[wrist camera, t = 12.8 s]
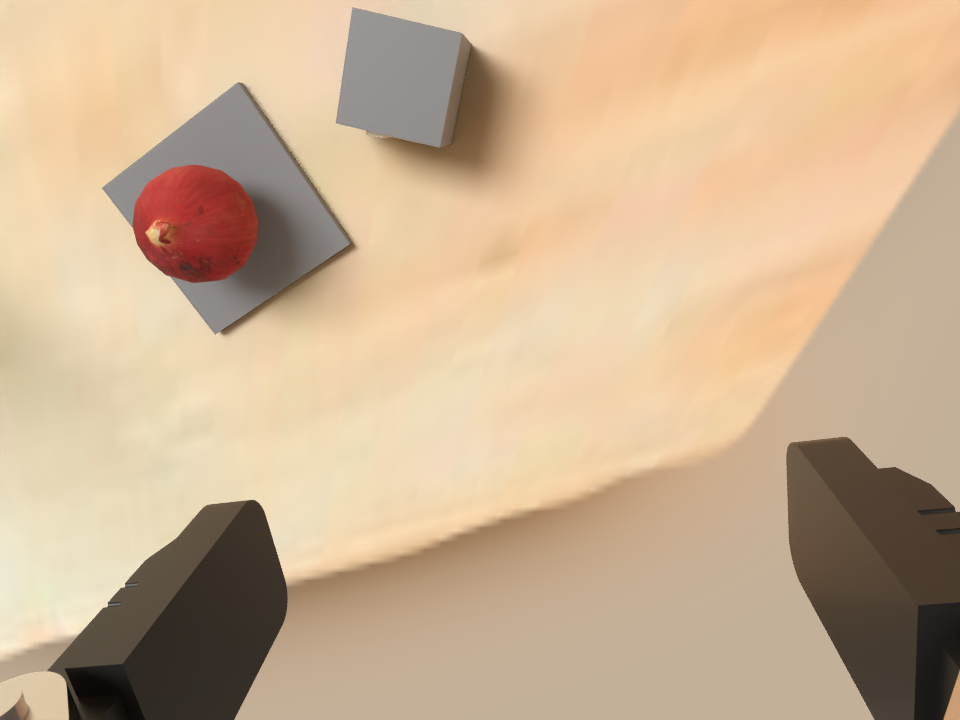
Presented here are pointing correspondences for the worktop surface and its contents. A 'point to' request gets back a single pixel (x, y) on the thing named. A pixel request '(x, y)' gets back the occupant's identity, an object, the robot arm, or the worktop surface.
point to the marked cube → (402, 79)
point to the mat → (270, 185)
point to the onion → (195, 223)
